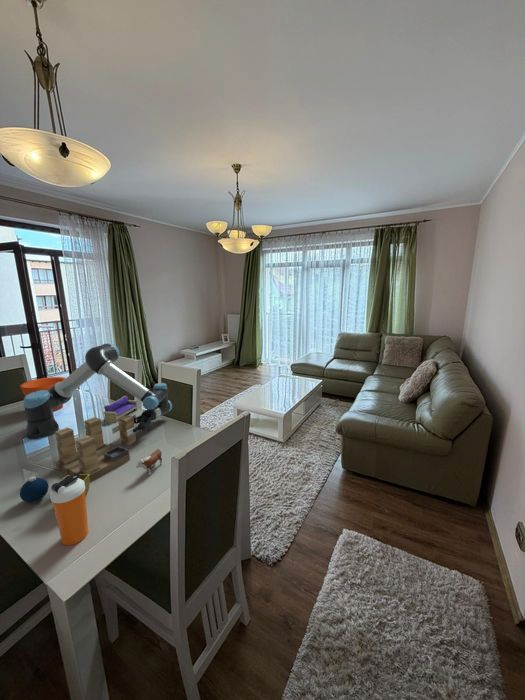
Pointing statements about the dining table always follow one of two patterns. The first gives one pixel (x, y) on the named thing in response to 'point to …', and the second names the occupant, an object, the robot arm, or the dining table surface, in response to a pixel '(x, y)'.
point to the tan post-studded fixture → (88, 452)
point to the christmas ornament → (34, 489)
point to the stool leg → (125, 425)
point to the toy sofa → (119, 409)
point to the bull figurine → (150, 461)
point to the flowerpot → (41, 386)
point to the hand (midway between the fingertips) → (119, 432)
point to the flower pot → (86, 479)
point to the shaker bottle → (70, 509)
